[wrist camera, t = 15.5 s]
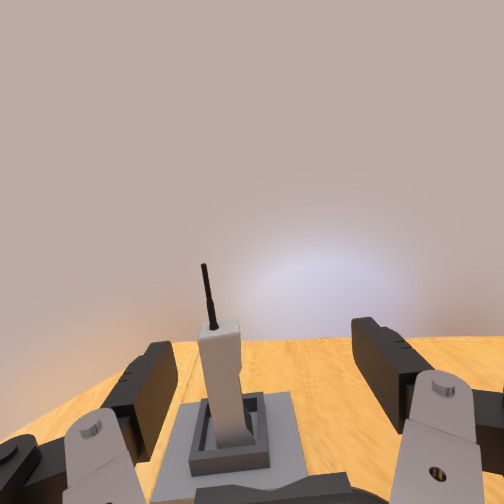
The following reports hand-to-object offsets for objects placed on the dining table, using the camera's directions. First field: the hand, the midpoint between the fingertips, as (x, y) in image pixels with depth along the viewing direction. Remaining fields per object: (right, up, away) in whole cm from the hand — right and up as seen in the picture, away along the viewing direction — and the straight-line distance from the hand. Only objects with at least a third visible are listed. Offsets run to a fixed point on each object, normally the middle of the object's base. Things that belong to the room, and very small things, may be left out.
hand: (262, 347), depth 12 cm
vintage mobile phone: (-2, -21, +25) cm, 33 cm away
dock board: (-3, -23, +25) cm, 34 cm away
